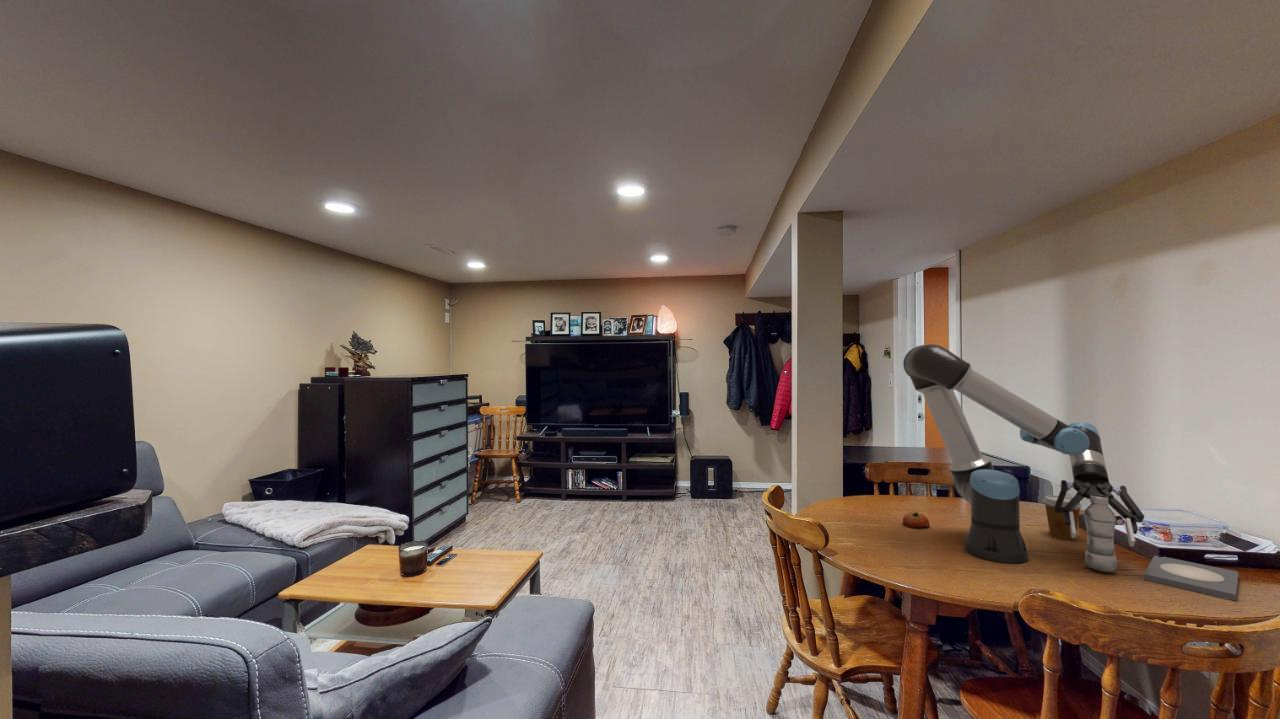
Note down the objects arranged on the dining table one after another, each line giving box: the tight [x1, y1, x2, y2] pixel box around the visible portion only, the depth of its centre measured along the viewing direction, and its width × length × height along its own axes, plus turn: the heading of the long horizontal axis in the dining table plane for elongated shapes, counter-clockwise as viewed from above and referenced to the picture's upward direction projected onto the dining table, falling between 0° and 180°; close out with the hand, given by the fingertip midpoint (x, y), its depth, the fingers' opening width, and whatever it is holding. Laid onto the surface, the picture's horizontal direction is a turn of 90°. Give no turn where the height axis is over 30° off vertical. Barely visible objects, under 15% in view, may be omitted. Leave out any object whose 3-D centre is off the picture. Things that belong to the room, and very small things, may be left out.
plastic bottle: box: [1083, 494, 1118, 574], centre depth 133 cm, size 6×7×20 cm
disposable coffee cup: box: [1042, 495, 1083, 540], centre depth 159 cm, size 10×10×12 cm
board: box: [1143, 554, 1239, 602], centre depth 127 cm, size 20×15×2 cm
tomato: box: [902, 511, 931, 529], centre depth 171 cm, size 8×7×7 cm
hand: (1102, 539), depth 130 cm, fingers open, 11 cm apart
